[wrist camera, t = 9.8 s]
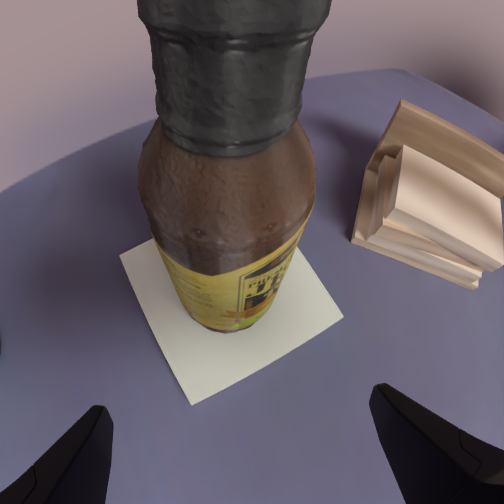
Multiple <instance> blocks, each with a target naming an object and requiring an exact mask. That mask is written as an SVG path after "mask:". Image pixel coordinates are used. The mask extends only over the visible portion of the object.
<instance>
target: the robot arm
mask: <svg viewBox="0 0 504 504" xmlns="http://www.w3.org/2000/svg"><path fill="white" fill-rule="evenodd" d="M369 406H370V410H371V413H372V417H373V420H374V423H375V427H376V430H377V433H378V437H379V440H380V443H381V445H382V448H383V450H384V452H385V455H386V457H387V459H388V462H389V464H390V466H391V469H392V471H393V474H394V476H395V478H396V481H397V483H398V486H399V488H400V490H401V493H402V495H403V498H404V500H405V503H406V504H504V450H502V449H499V448H497V447H495V446H492V445H490V444H488V443H486V442H484V441H482V440H480V439H477V438H476V437H474V436H472V435H470V434H468V433H467V432H465V431H463V430H462V429H459V428H458V427H456V426H455V425H453V424H451V423H450V422H448V421H446V420H445V419H443V418H441V417H440V416H438V415H436V414H435V413H433V412H432V411H430V410H428V409H427V408H425V407H423V406H422V405H420V404H419V403H417V402H415V401H414V400H412V399H411V398H409V397H407V396H406V395H404V394H403V393H401V392H399V391H398V390H396V389H395V388H393V387H391V386H390V385H388V384H386V383H382V384H378V385H375V386H374V388H373V391H372V394H371V397H370V400H369ZM112 441H113V421H112V419H111V417H110V414H109V412H108V410H107V408H106V407H105V406H101V405H94V406H92V407H91V408H90V409H89V410H88V411H87V412H86V413H85V414H84V415H83V416H82V417H81V418H80V419H79V420H78V421H77V422H76V423H75V424H74V425H73V426H72V427H71V428H70V429H69V430H68V431H67V432H66V433H65V434H64V435H63V436H62V437H61V438H60V439H59V440H57V441H56V442H55V443H54V444H53V445H52V446H51V447H50V448H49V449H48V450H47V451H46V452H45V453H44V454H43V455H42V456H41V457H40V458H39V459H38V460H37V461H36V462H35V463H34V464H33V465H32V466H31V467H30V468H29V469H28V470H27V471H26V472H25V473H24V474H23V475H21V476H20V477H19V478H18V479H17V480H16V481H15V482H13V483H12V484H11V485H10V486H8V487H7V488H6V489H4V490H3V491H2V492H1V493H0V504H105V500H106V493H107V487H108V480H109V474H110V468H111V459H112Z"/></svg>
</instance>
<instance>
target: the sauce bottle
mask: <svg viewBox="0 0 504 504" xmlns="http://www.w3.org/2000/svg"><path fill="white" fill-rule="evenodd" d="M331 2H332V0H137V6H138V16H139V18H140V19H141V21H142V22H143V23H144V24H145V26H146V28H147V30H148V33H149V35H150V43H151V51H152V69H153V71H154V74H155V77H156V79H155V83H156V89H157V92H156V97H155V101H156V111H157V114H158V115H159V117H158V119H157V120H156V121H155V124H154V126H153V128H152V130H151V131H150V133H149V135H148V137H147V139H146V140H145V141H144V143H143V150H142V153H141V157H140V161H139V165H138V189H139V192H140V196H141V200H142V203H143V205H144V208H145V210H146V213H147V215H148V222H149V227H150V230H151V233H152V236H153V238H154V241H155V243H156V246H157V248H158V251H159V253H160V255H161V258H162V260H163V262H164V264H165V267H166V269H167V271H168V273H169V276H170V278H171V280H172V283H173V285H174V287H175V290H176V292H177V294H178V296H179V298H180V301H181V303H182V305H183V307H184V308H185V309H186V311H187V312H188V314H189V315H190V316H191V318H192V319H193V320H195V321H196V322H198V323H199V324H201V325H202V326H203V327H205V328H206V329H208V330H210V331H213V332H220V333H224V334H227V333H235V332H237V331H240V330H245V329H247V328H250V327H251V326H252V325H253V324H254V323H255V322H257V321H258V320H259V319H260V318H262V317H263V316H264V315H265V313H266V312H267V311H268V310H269V308H270V306H271V305H272V303H273V301H274V298H275V296H276V294H277V292H278V289H279V287H280V284H281V282H282V280H283V277H284V276H285V273H286V271H287V269H288V267H289V264H290V262H291V259H292V257H293V254H294V252H295V250H296V247H297V244H298V242H299V240H300V237H301V235H302V234H303V231H304V229H305V227H306V223H307V220H308V218H309V216H310V213H311V211H312V208H313V205H314V202H315V196H316V166H315V160H314V153H313V150H312V147H311V145H310V141H309V138H307V136H306V134H305V131H304V130H303V129H302V127H301V125H300V123H299V122H298V119H297V118H298V114H299V112H300V110H301V108H302V93H301V92H302V89H303V84H304V80H305V74H306V68H307V62H308V59H309V56H310V53H311V46H312V42H313V37H314V36H315V34H316V32H317V31H318V30H319V28H320V27H321V26H322V24H323V23H324V21H325V20H326V18H327V17H328V15H329V11H330V6H331Z"/></svg>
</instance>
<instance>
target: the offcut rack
mask: <svg viewBox="0 0 504 504" xmlns="http://www.w3.org/2000/svg"><path fill="white" fill-rule="evenodd" d="M503 196H504V155H503V154H502V153H500V152H499V151H497V150H496V149H494V148H493V147H491V146H489V145H488V144H486V143H485V142H483V141H481V140H480V139H478V138H476V137H475V136H473V135H471V134H469V133H468V132H466V131H464V130H462V129H461V128H459V127H457V126H455V125H453V124H452V123H450V122H448V121H446V120H444V119H442V118H440V117H438V116H436V115H434V114H432V113H430V112H428V111H426V110H424V109H422V108H420V107H418V106H416V105H414V104H411V103H409V102H407V101H405V100H402V99H401V100H400V102H399V104H398V106H397V108H396V110H395V112H394V114H393V116H392V118H391V120H390V122H389V124H388V126H387V128H386V130H385V132H384V134H383V136H382V137H381V139H380V141H379V143H378V145H377V147H376V149H375V151H374V153H373V155H372V157H371V158H370V160H369V162H368V164H367V166H366V168H365V172H364V178H363V184H362V189H361V195H360V200H359V205H358V210H357V215H356V220H355V225H354V229H353V234H352V239H351V243H353V244H356V245H359V246H361V247H364V248H367V249H369V250H372V251H375V252H377V253H380V254H382V255H385V256H388V257H390V258H393V259H395V260H398V261H401V262H403V263H406V264H408V265H411V266H413V267H416V268H418V269H421V270H423V271H426V272H428V273H431V274H433V275H436V276H438V277H441V278H443V279H445V280H448V281H450V282H453V283H455V284H457V285H460V286H462V287H465V288H467V289H469V290H474V289H475V288H477V287H478V279H479V278H481V277H482V272H483V271H485V270H488V271H490V272H493V271H495V270H496V269H498V268H499V267H501V266H503V265H504V253H503V229H502V215H501V204H500V199H501V198H502V197H503Z"/></svg>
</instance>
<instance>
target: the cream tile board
mask: <svg viewBox="0 0 504 504" xmlns="http://www.w3.org/2000/svg"><path fill="white" fill-rule="evenodd" d="M119 256H120V258H121V261H122V263H123V266H124V268H125V271H126V273H127V276H128V278H129V280H130V283H131V285H132V287H133V290H134V292H135V294H136V297H137V299H138V301H139V303H140V306H141V308H142V310H143V312H144V314H145V317H146V319H147V321H148V323H149V325H150V327H151V329H152V331H153V333H154V335H155V338H156V340H157V342H158V344H159V346H160V348H161V350H162V352H163V354H164V356H165V358H166V359H167V361H168V363H169V365H170V367H171V369H172V371H173V373H174V375H175V377H176V378H177V380H178V382H179V384H180V386H181V388H182V389H183V391H184V393H185V395H186V396H187V398H188V400H189V402H190V404H191V405H194V404H196V403H198V402H200V401H202V400H204V399H206V398H208V397H210V396H212V395H214V394H216V393H218V392H220V391H221V390H223V389H225V388H227V387H229V386H231V385H233V384H235V383H236V382H238V381H240V380H242V379H244V378H245V377H247V376H249V375H251V374H253V373H254V372H256V371H258V370H260V369H261V368H263V367H265V366H267V365H268V364H270V363H272V362H274V361H275V360H277V359H279V358H280V357H282V356H284V355H285V354H287V353H289V352H290V351H292V350H294V349H295V348H297V347H298V346H300V345H302V344H303V343H305V342H307V341H308V340H310V339H311V338H313V337H314V336H316V335H318V334H319V333H321V332H322V331H324V330H325V329H327V328H328V327H330V326H331V325H333V324H335V323H336V322H338V321H339V320H341V319H342V318H343V317H344V316H343V315H342V313H341V312H340V310H339V309H338V307H337V306H336V304H335V303H334V301H333V299H332V298H331V296H330V295H329V293H328V292H327V290H326V289H325V287H324V286H323V284H322V283H321V281H320V280H319V278H318V277H317V275H316V274H315V272H314V271H313V269H312V268H311V266H310V265H309V263H308V262H307V260H306V259H305V257H304V256H303V255H302V253H301V252H300V250H299V249H298V247H296V250H295V252H294V254H293V257H292V259H291V262H290V264H289V267H288V269H287V271H286V273H285V276H284V277H283V280H282V282H281V284H280V287H279V289H278V292H277V294H276V296H275V298H274V301H273V303H272V305H271V306H270V308H269V310H268V311H267V312H266V313H265V315H264V316H263V317H262V318H260V319H259V320H258V321H257V322H255V323H254V324H253V325H252V326H251V327H250V328H247V329H245V330H240V331H237V332H235V333H227V334H224V333H220V332H213V331H210V330H208V329H206V328H205V327H203V326H202V325H201V324H199V323H198V322H196V321H195V320H193V319H192V318H191V316H190V315H189V314H188V312H187V311H186V309H185V308H184V307H183V305H182V303H181V301H180V298H179V296H178V294H177V292H176V290H175V287H174V285H173V283H172V280H171V278H170V276H169V273H168V271H167V269H166V267H165V264H164V262H163V260H162V258H161V255H160V253H159V251H158V248H157V246H156V243H155V241H154V238H153V239H151V240H149V241H147V242H144V243H142V244H140V245H138V246H137V247H135V248H133V249H131V250H129V251H127V252H125V253H123V254H121V255H119Z"/></svg>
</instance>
